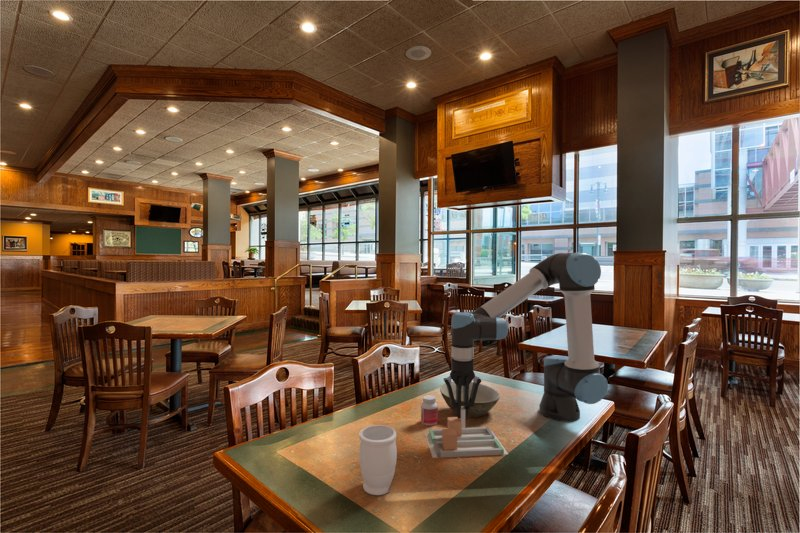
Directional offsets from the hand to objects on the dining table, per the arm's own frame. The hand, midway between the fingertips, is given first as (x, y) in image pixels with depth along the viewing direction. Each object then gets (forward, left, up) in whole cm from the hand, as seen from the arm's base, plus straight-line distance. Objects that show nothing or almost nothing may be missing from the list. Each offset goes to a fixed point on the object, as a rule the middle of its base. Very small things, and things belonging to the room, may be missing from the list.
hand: (462, 426), depth 131 cm
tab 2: (+6, +9, -4) cm, 12 cm away
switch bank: (0, +4, -5) cm, 7 cm away
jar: (+29, +23, -5) cm, 38 cm away
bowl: (-9, -23, -5) cm, 25 cm away
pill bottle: (+9, -13, -5) cm, 16 cm away
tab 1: (+3, 0, -4) cm, 5 cm away
